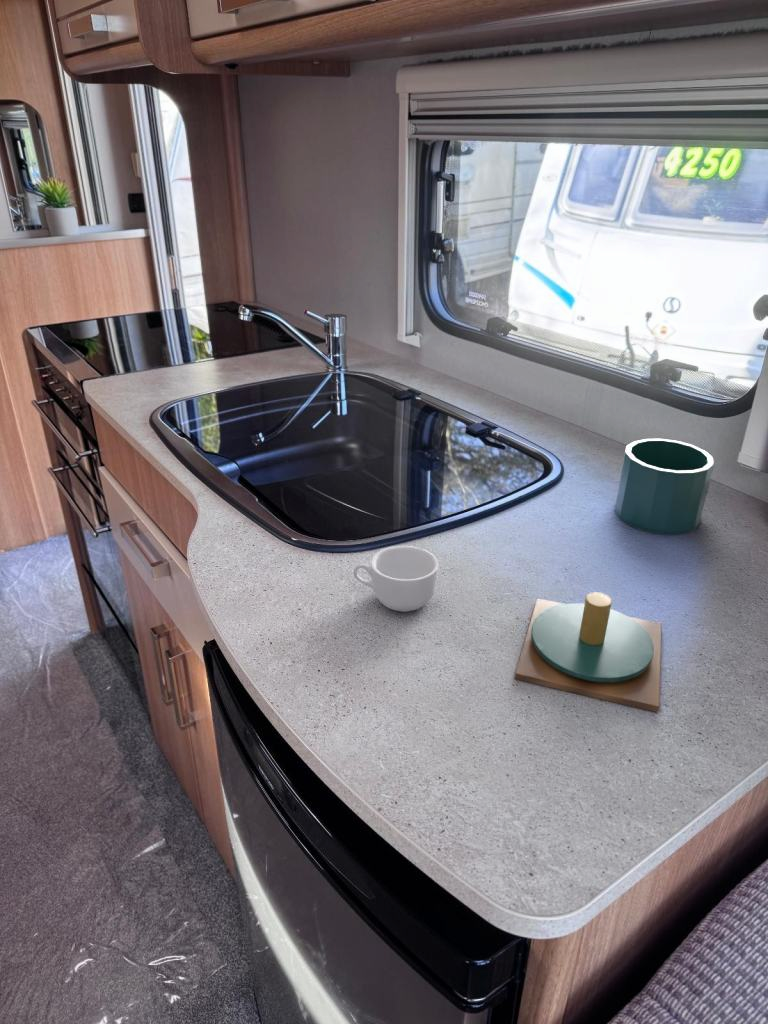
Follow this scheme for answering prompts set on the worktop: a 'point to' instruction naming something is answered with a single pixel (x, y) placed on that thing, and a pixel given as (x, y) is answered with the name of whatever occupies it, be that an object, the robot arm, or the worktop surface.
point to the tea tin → (663, 486)
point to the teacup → (401, 577)
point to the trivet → (628, 692)
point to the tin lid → (592, 640)
